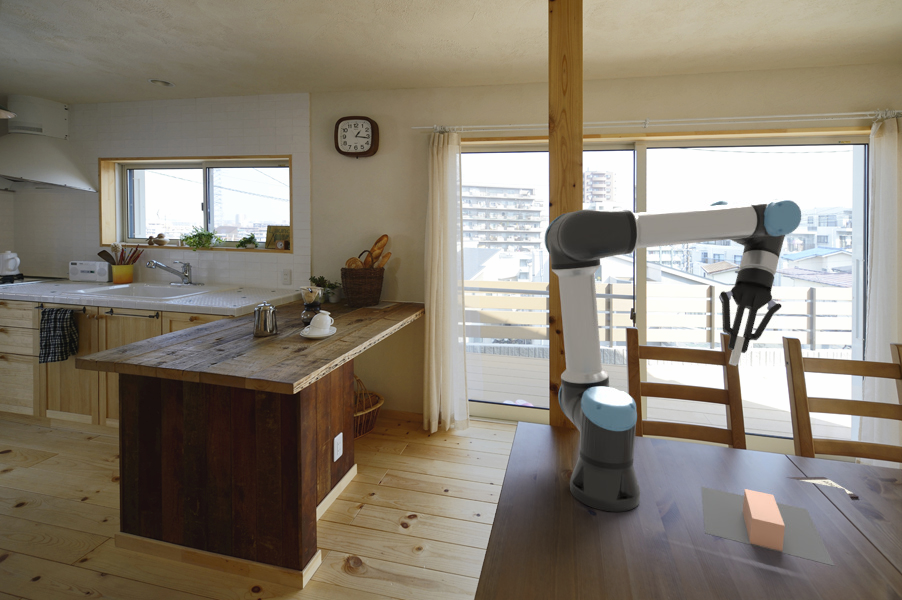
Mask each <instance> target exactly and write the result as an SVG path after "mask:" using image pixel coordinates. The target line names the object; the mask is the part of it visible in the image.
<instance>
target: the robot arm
mask: <svg viewBox="0 0 902 600" xmlns="http://www.w3.org/2000/svg"><path fill="white" fill-rule="evenodd" d="M801 221H802V211H801V208H800V206H799V205H798V204H797V203H796V202H795V201H793V200H791V199H773V200H768V201H766V200H765V201H757V202H747V203H746V202H745V203H737V204H736V203H735V204H733V203H731V202H728V201H724V200H716V201H715V202H713V203H712V204H710V205H709V206H703V207H702V206H701V207H690V208H679V209H669V210H667V209H666V210H657V211H648V212H647V211H646V212H636V213H635V212H634V211H632V210H631V209H628V208H625V209H587V208H586V209H581V210H576V211H572V212H566V213H562V214H560V215H559V216H557V217H556V218H555V219H553V220H552V221H551V222H550V223H549V224H548V226H547V228H546V229H545V233H544V245H545V248H546V251H547V252H548V254H549V255H550V264H551V271H552V272H553V273H554V274H555V275H556V276H557V278H558V285H559V287H558V288H559V298H560V309H561V321H562V333H563V344H564V357H565V367H566V369H565V370H564V371H563V372H562V373H561V375H560V381H561V385H560V387H559V390H558V403H559V406H560V409H561V411H562V412H563V413H564V416H566V418H567V419H569V420H570V422H571V423H573V425H574V426H575V428H576V429H577V430H578V431H579V434H580V435H579V436H580V437H579V455H578V459H577V461H576V464H575V466H574V469H573V472H572V474H571V475H570V480H569V481H570V482H569V490H570V493H571V494H572V497H574V498H575V499H576V500H577V501H579V502H581V503H582V504H584V505H586V506H588V507H591V508H593V509H596V510H600V511H604V512H605V511H606V512H613V513H614V512H617V513H618V512H627V511H631V510H633V509H634V508H636V507H637V506H638V505H639V504H640V499H641V498H640V497H641V490H640V486H639V481H638V477H637V475H636V472H635V468H634V458H635V444H636V442H635V441H636V430H637V429H636V428H637V420H638V413H637V403H636V401H635V399H634V398H633V397H632V396H631V395H630V394H629V393H628V392H626V391H623V390H618V389H617V388H614V387H611V386H610V378H609V377H610V376H609V372H607V371H606V370H605V369H603V367H602V357H601V345H600V344H601V342H600V329H599V317H598V305H597V288H596V276H595V274H596V271H598V269H599V268H600V267H601V259H604V258H610V257H614V256H620V255H631V254H632V253H634V252H635V250H637V249H643V248H644V249H645V248H654V247H655V248H656V247H666V246H674V245H686V244H697V243H705V242H706V243H707V242H716V241H729V240H730V241H732V242H735V243H737V244H739V245H741V246H744V248H743V252H742V257H741V261H740V265H739V268H738V269H739V270H738V272H737V276H736V280H735V283H734V286H733V287H732V288H731V289H730V290H729V291H724V290H722V291H721V292H720V294H719V295H718V298H719V301H720V303H721V311H722V312H721V313H722V314H721V316H722V317H721V318H722V332H723V333H724V334H727V335H728V336H729V340H728V345H727V349H728V350H730V351H731V354H730V358H729V361H728V365H731V366H735V367H737V365H739V363H740V358H741V355H742V354H745V353H746V352H747V351H748V350H749V349H748V348H749V346H750V345H749V344H750V341H757V340H759V339H760V338H761V337H762V335H763V332H764V331H765V330H766V328H767V326H768V325H769V322H770V321H771V319H772V318H773V316H774V314H775V313H777V312H778V311H779V310H780V309H781V308H782V304H781V303H779V302H778V303H777V302H776V301H774V300H773V296H772V288H773V285H774V280H775V275H776V272H777V268H778V264H779V260H780V255H781V252H782V248H783V245H784V240H785V237H786V235H789V234H792V233H793V232H794V231H796V230H797V229H798V227H799V226H800V224H801ZM732 298H733V300H734V302H735V304H736V306H737V307H736V312H735V316H734V320H733V324H732V327H731V306H730V304H731V303H730V301H731V299H732ZM766 305H767V307H766V309H767V312H765V314H764V316H763V318H762V319H761V321H760V323H759V324H758V326H757V328H756V329H755V332H754V333H753V331H754V326H755V322H756V317H757V313H758V311H759V310H760V309H762V308H763V307H765V306H766ZM745 309H747V310H748V315H747V318H746V319H747V320H746V323H745V327H744V330H743V335H742V336H740V335H739V332H740V328H741V324H742V321H743V316H744V314H745Z"/></svg>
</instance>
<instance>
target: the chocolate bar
mask: <svg viewBox="0 0 902 600" xmlns="http://www.w3.org/2000/svg"><path fill="white" fill-rule="evenodd" d="M785 478H786V479H792V480H797V481H803V482H807V483H812V484H818V485H821V486H828V487H834V488H838V489H843V490H844V491H845V492H846V493H847V495H848V496H849V498H850V500H851V499H852V500H853V499H856V500H857V499H858V500H859V496H858V495H857V494H855V493H854V492H852V491H850V490H848V489H846V488H845V487H842V486H841V485H839V484H838V483H836V482H834V481H833V480H830V479H829V478H827V477H826V476H803V477H802V476H801V477H800V476H798V477H797V476H796V477H795V476H791V477H785Z"/></svg>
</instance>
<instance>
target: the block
mask: <svg viewBox="0 0 902 600" xmlns="http://www.w3.org/2000/svg"><path fill="white" fill-rule="evenodd" d="M743 491H744V493H743V496H744V502H743V515H744V519H745V523H746V527H747V532H748V536H749V540H750V543H752V544H756V545H760V546H764V547H768V548H772V549H776V550H780V551H782V549H783V539H784V529H785V525H784V522H783V520H782V517H781V514H780V512H779V509H778V506H777V504H776V503H777V501H776V498H775V496H774V494H770V493H766V492H761V491H756V490H751V489H747V488H746V489H745V488H744V490H743Z"/></svg>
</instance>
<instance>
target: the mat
mask: <svg viewBox="0 0 902 600" xmlns="http://www.w3.org/2000/svg"><path fill="white" fill-rule="evenodd" d="M700 489H701V499H702V500H701V501H702V511H703V521H704V522H703V523H704V526H703V527H704V533H705V534H706V535H711V536H715V537H719V538H723V539H725V540H726V539H727V540H731V541H734V542H739V543H743V544H747V545H750V546H754V547H758V548H763V549H766V550H768V551H769V550H771V551H774V552H777V553H782V554H785V555H788V556H789V555H790V556H793V557H797V558H801V559H806V560H810V561H813V562H817V563H821V564H825V565H830V566H833V567H835V564H834V562H833V560H832V557H831V556H830V553H829V552H828V550H827V547H826V546H825V544H824V541H823V539H822V537H821V536H820V533H819V531H818V529H817V527H816V524H815V523H814V521H813V519H812V517H811V515H810V512H809V511H808V508H803V507H798V506H795V505H789V504H784V503H780V502H776V504H777V506H778V509H779V512H780V514H781V517H782V520H783V522H784V525H785V529H784V539H783V549H782V551H780V550H776V549H772V548H768V547H764V546H760V545H756V544H752V543H750V540H749V536H748V532H747V527H746V523H745V519H744V515H743V502H744V494H743V495H741V494H738V493H734V492H728V491H725V490H718V489H714V488H709V487H705V486H701V487H700Z"/></svg>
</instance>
